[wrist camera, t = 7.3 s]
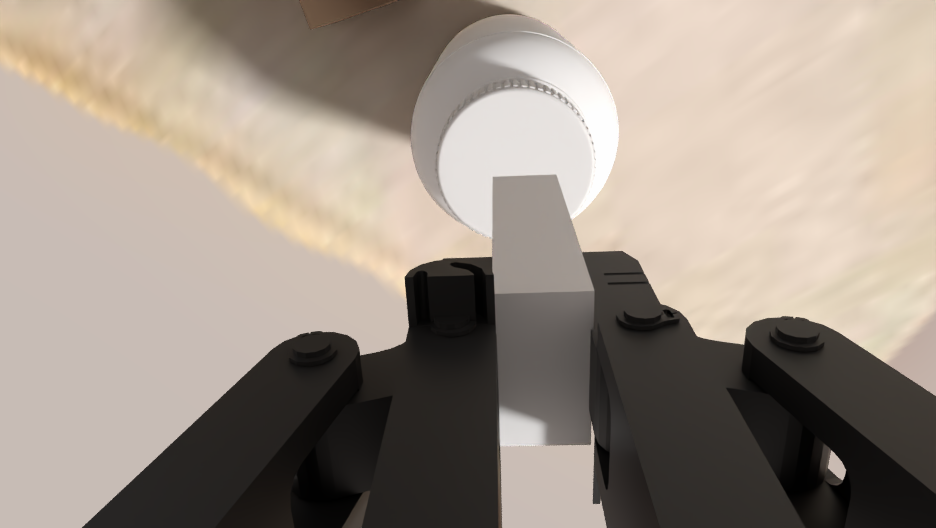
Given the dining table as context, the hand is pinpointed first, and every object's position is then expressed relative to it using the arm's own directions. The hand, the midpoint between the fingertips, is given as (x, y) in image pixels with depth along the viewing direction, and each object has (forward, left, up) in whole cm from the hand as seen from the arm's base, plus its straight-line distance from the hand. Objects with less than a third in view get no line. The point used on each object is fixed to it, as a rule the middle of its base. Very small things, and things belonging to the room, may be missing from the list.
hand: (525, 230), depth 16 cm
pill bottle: (0, 0, -22) cm, 22 cm away
